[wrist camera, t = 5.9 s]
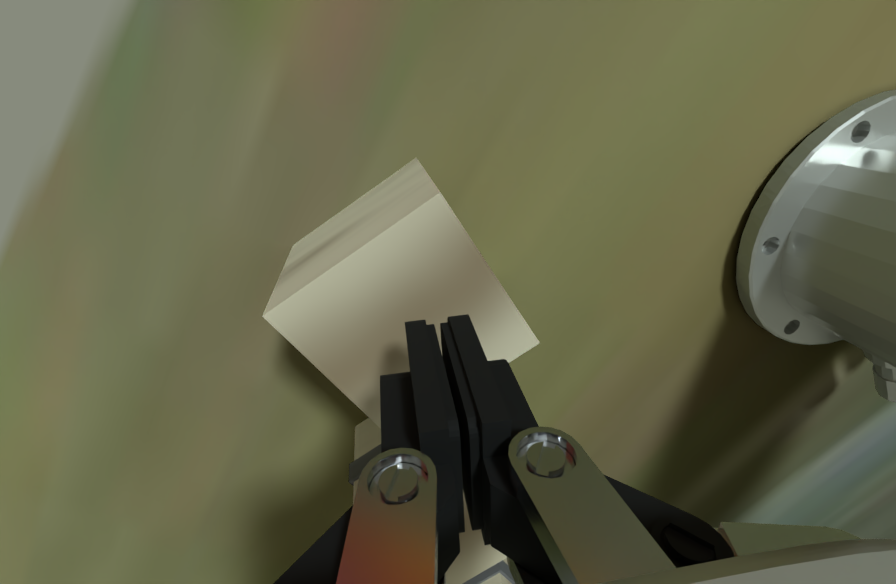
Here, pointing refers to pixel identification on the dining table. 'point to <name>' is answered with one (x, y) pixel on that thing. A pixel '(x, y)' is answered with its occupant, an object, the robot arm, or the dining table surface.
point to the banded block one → (471, 542)
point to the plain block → (388, 287)
